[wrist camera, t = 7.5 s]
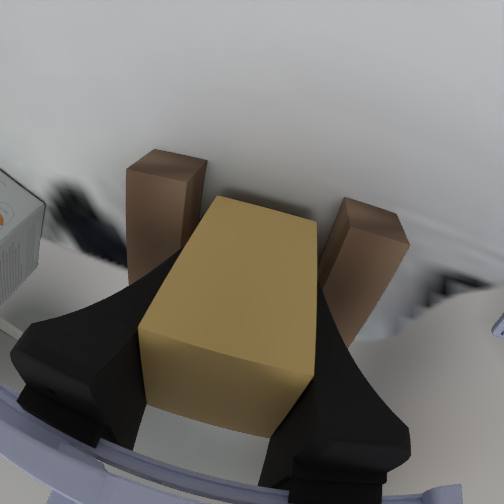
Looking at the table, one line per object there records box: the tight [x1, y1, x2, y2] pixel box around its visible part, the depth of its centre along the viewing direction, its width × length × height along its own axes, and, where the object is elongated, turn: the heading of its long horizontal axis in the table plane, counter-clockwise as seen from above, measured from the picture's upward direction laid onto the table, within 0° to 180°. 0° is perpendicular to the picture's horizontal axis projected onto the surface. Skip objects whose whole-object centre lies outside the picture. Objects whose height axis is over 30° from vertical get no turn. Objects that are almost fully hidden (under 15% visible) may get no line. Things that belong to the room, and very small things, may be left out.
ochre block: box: [138, 195, 317, 438], centre depth 11 cm, size 4×4×7 cm
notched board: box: [126, 149, 410, 349], centre depth 14 cm, size 11×8×2 cm
